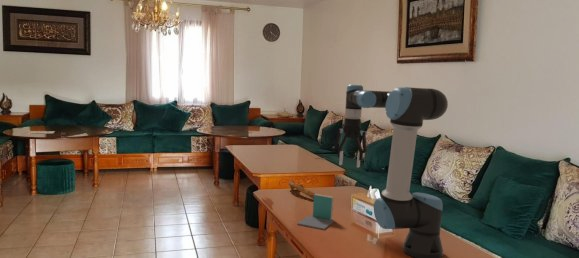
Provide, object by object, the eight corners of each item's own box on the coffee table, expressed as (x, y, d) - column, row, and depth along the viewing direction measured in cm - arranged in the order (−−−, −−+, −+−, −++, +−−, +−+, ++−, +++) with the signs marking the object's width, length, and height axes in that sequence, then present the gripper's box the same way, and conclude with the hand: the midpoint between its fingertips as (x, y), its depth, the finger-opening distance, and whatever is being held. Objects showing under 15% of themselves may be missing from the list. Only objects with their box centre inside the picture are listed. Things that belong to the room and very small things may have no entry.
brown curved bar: (329, 204, 248) (323, 188, 245) (317, 212, 246) (310, 197, 242) (301, 186, 278) (295, 172, 274) (289, 194, 275) (283, 179, 272)
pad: (334, 221, 217) (334, 220, 217) (324, 229, 206) (324, 228, 206) (308, 216, 223) (308, 215, 223) (297, 224, 211) (297, 223, 211)
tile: (332, 219, 221) (333, 196, 220) (330, 220, 219) (332, 197, 217) (314, 216, 225) (315, 193, 223) (312, 217, 222) (313, 194, 221)
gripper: (376, 119, 218) (372, 167, 221) (334, 115, 227) (331, 161, 230) (372, 120, 212) (368, 170, 214) (329, 116, 220) (326, 164, 223)
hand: (349, 165), depth 222 cm, fingers open, 8 cm apart
